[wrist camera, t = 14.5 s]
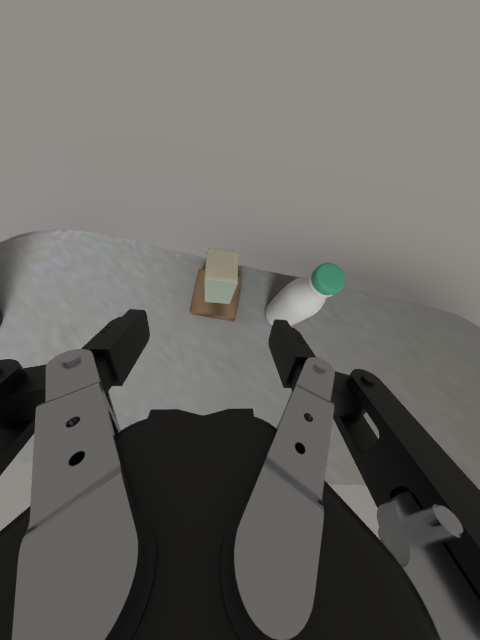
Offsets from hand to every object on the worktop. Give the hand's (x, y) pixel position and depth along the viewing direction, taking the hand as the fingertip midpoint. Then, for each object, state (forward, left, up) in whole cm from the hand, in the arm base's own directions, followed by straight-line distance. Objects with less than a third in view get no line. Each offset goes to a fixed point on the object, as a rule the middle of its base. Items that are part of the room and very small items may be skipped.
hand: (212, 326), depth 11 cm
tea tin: (-2, +13, -25) cm, 28 cm away
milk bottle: (+14, +13, -29) cm, 34 cm away
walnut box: (-2, +13, -29) cm, 32 cm away
